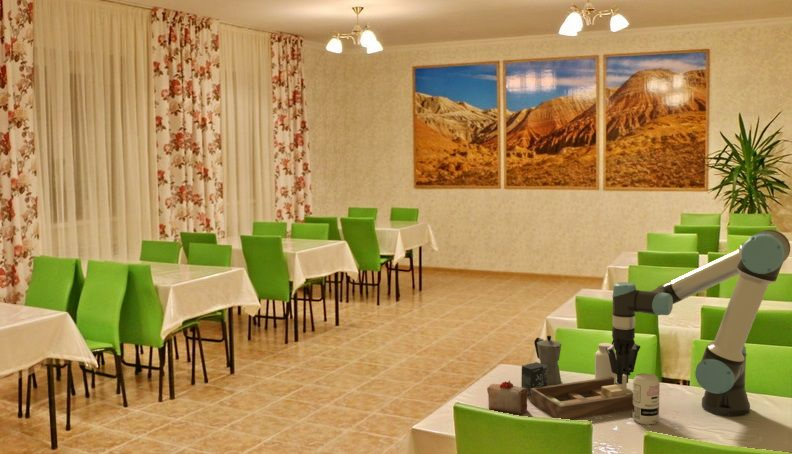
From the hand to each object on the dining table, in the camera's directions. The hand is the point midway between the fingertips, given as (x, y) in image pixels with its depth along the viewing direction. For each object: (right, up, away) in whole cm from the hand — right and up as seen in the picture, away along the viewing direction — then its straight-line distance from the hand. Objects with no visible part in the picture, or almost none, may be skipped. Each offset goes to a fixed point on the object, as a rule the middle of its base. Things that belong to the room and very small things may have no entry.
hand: (622, 392), depth 259 cm
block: (-3, -2, -1) cm, 4 cm away
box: (-29, -3, +13) cm, 32 cm away
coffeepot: (-21, -2, +27) cm, 34 cm away
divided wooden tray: (-12, -4, 0) cm, 13 cm away
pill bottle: (+1, -2, +23) cm, 23 cm away
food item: (-41, -5, -3) cm, 42 cm away
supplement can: (+3, -6, -16) cm, 18 cm away
